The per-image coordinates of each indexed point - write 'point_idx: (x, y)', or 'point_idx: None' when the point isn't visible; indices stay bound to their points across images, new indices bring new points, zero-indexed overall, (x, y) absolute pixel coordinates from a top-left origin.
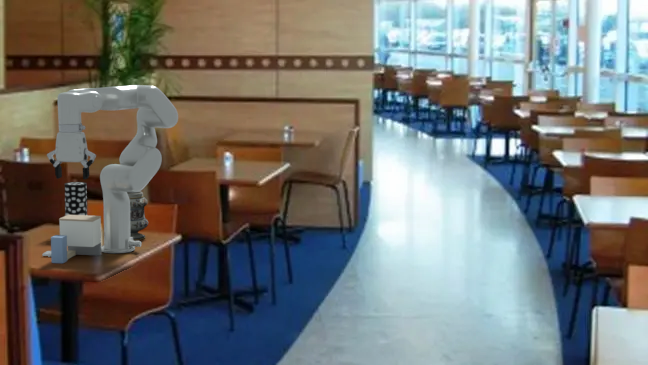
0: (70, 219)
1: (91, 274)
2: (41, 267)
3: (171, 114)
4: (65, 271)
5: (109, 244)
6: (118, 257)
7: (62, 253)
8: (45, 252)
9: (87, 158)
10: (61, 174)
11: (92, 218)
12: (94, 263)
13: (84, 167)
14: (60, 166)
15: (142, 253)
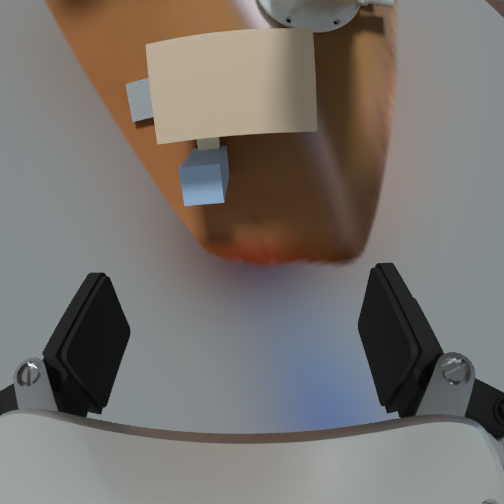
0: (210, 137)
1: (342, 256)
2: (201, 227)
3: None
4: (276, 247)
5: (304, 15)
6: (349, 72)
7: (227, 184)
8: (131, 104)
9: (478, 440)
10: (100, 297)
11: (301, 94)
12: (312, 154)
13: (401, 402)
14: (63, 363)
15: (391, 20)
